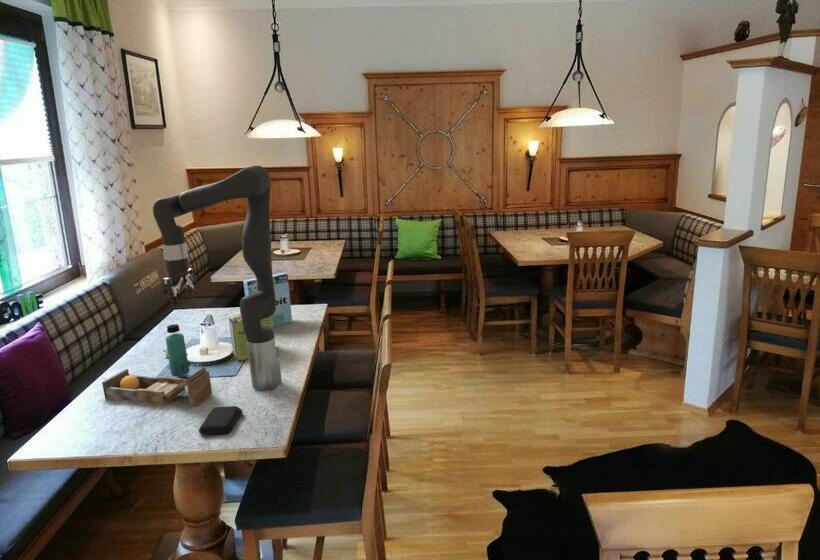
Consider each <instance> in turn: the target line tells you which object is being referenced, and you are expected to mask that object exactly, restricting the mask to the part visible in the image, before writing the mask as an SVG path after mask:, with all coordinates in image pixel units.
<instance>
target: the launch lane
mask: <svg viewBox="0 0 820 560" xmlns="http://www.w3.org/2000/svg"><path fill="white" fill-rule="evenodd" d="M126 376H135V377H136V378H137V379H138V380H139V387H138V389H137V390H136V389H126V388H120V382H121V380H122V379H123V378H124V377H126ZM210 376H211V375H210V371H209V370H207V368H206V367H203V368H201V369H199V370H198V371H196V372H195V373H193V374H192V375H190V376H189V377H187V378H186V379H184V377H175V376H162V375H159V376H149V375H138V374H137V375H136V374H129V369H128V368H127V369H126V368H125V369H123V370H121V371H120V372H118V373H116V374H114V375H113V376H111V377H109V378H106V379H105V380H103V381H102V382H101V384H102V390H103V394H104V398H105V399H109V400H117V401H126V402H134V403H135V402H136V403H143V404H144V403H145V404H151V405H153V404H155V405H162V406H165V405H166V404H168V403H169V402H171V401H172V400H174V399H175V398H177V397H179V396H180V395H181V394H182V393H184V392H185V391H186V386H187V393H188V397H189V403H190V404H189V405H190V407H194V408H196V407H198V406H199V405H201V404H202V403H203V402H204V401H206V400H207V399H208V398H210V397H211V396H213V390H212V389H213V388H212V382H211V377H210Z"/></svg>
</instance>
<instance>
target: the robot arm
mask: <svg viewBox="0 0 820 560" xmlns="http://www.w3.org/2000/svg"><path fill="white" fill-rule="evenodd" d="M271 185H272V183H271V177H270V173H269V172H268V170H267V169H266V168H264V167H263V166H261V165H252V166H251V165H250V166H248V167H244V168H242V169H240V170H239V171H237V172H235V173H234V174H232V175H230V176H228V177H227V178H224V179H223V180H219V181H217V182H213V183H209V184H204V185H200V186H198V187H197V186H196V187H193V188H191V189H187V190H186V191H183V192H181V193H177V194H175V195H174V194H173V195H170V196H167V197H166V196H165V197H161V198H157V199H156V200H155V201H154V203H153V205H152V214H153V218H154V220H155V222H156V224H157V225H156V226H157V227H158V229H159V231H160V235H161V240H162V252H163V259H164V265H165V267H164V268H165V272H167V273H168V277H163V278H162V279H161V281H162V289H163V296H165V297H169V303H170V306H171V307H173V308H177V307H179V300H178V296H177V294H178V292H179V290H180V288H182V287H183V286H184V288H185V289H186V290H185V292H186V297H187V299H188V300H194V299H195V293H194V289H195V286H197V284H198V283H197V282H198V281H197V276H196V271H195V270H196V269H194V268H191V267H190V259H189V253H188V247H187V244H186V238H185V232H184V228H183V227H182V226H181V225H180V224H177V222H176V220H175V218H178V217H181V216H184V215H187V214H189V213H193V212H197V211H200V210H204V209H206V208H210V207H213V206H216V205H218V204H219V203H223V202H226V201H230V200H231V201H232V200H236V199H247V212H246V217H245V219H244V224H243V228H242V232H241V233H242V234H241V248H242V249H241V250H242V257H243V260H244V262H245V263H246V264H247V266H248V267H249V269H250V270H251V271H252V273H253V275H254V277H255V278H256V279H257V287H258V290H257V293H254V294H251V295H247V296H245V295H244V296H243V297H242V298H240V302H239V311H240V313H239V314H240V315H241V319H242V324H243V330H244V333H245V335H246V339H247V347H248V355H249V359H248V362H249V368H250V369H249V371H250V377H251V378H250V379H251V385H252V389H254V390H255V391H267V390H275V389H276V388H277V387H278V386H279V385H280V384H281V383H282V381H283V380H282V371H281V364H280V357H278V356H277V349H276V348H277V347H276V339H274V338H275V330H274V331H273V329H274V328H273V329H272V328H270V327H263V326H261V321H260V320H262V319H265V318H268V317H270V316H272V315H273V314H274V313H275V310H276V298H275V291H274V284H273V276H272V275H273V264H272V237H271V235H272V234H271V216H270V204H271V201H270V199H271V189H272V186H271ZM275 347H276V348H275Z"/></svg>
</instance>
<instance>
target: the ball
mask: <svg viewBox="0 0 820 560" xmlns="http://www.w3.org/2000/svg"><path fill="white" fill-rule="evenodd" d="M138 387H139V380H138V379H137V378H136V377H135V376H126V377H124V378H123V379H122V380H121V382H120V388H126V389H136V390H137V389H138Z"/></svg>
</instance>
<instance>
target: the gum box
mask: <svg viewBox="0 0 820 560" xmlns="http://www.w3.org/2000/svg"><path fill="white" fill-rule="evenodd" d="M272 276H273V284H274V291H275V298H276V310H275V313H274V314H273V315H272V320H273V328H274V327H277V326H282V325H286V324H290V323H291V324H292V323H293V315H292V307H291V306H292V305H291V298H290V285H289V275H288V273H286V272H280V273H274V274H272ZM243 289H244V290H243V291H244V297H245V296H247V295H251V294H254V293H257V290H258V287H257V279H256V277H255V278H250V279H249V278H248V279H244V280H243Z"/></svg>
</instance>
